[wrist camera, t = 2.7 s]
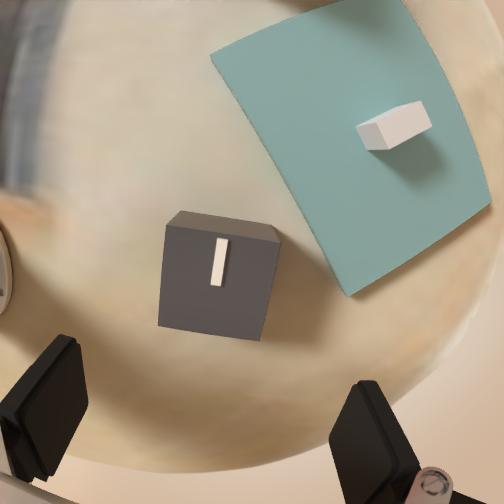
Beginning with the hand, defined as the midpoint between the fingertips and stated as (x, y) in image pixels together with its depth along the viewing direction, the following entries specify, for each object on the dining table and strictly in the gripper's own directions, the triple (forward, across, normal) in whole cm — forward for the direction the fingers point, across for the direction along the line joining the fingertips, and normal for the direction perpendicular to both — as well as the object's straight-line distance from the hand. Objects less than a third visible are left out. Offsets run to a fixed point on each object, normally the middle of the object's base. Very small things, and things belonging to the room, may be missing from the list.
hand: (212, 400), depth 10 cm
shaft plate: (+15, -9, -12) cm, 21 cm away
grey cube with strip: (+15, +1, 0) cm, 15 cm away
